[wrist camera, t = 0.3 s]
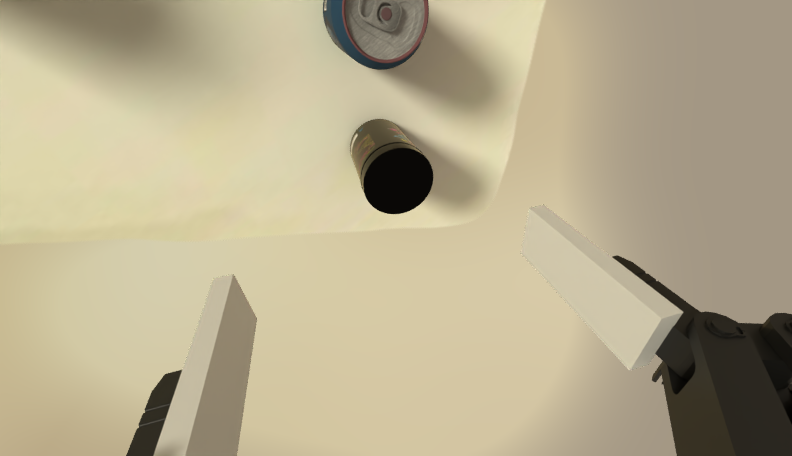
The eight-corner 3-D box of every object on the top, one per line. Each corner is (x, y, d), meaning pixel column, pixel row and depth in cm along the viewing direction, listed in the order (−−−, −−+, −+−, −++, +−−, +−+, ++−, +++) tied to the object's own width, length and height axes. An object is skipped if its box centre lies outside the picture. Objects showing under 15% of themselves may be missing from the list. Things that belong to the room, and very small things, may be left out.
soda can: (405, -10, 30) (454, -23, 20) (380, 67, 33) (413, 87, 23) (333, -48, 27) (351, -85, 17) (314, 39, 30) (320, 49, 20)
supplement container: (397, 175, 40) (423, 216, 32) (345, 169, 38) (357, 212, 30) (410, 121, 37) (442, 152, 28) (353, 112, 35) (369, 142, 26)
